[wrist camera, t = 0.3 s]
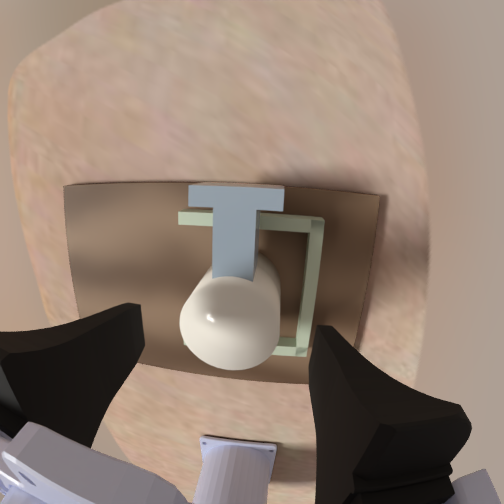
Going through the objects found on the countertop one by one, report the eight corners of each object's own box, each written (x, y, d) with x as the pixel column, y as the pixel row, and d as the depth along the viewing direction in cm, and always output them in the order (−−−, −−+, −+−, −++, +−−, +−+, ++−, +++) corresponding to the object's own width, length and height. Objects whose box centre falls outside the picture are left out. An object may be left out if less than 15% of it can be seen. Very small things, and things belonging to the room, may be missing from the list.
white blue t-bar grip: (277, 320, 20) (275, 374, 15) (207, 313, 21) (182, 363, 15) (288, 184, 18) (291, 191, 12) (208, 180, 18) (175, 186, 12)
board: (341, 378, 22) (343, 384, 21) (91, 345, 24) (87, 350, 23) (376, 195, 18) (379, 196, 17) (69, 185, 20) (63, 185, 19)
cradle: (305, 347, 21) (306, 356, 20) (188, 336, 21) (183, 344, 20) (321, 217, 18) (324, 220, 17) (184, 209, 19) (178, 211, 18)
